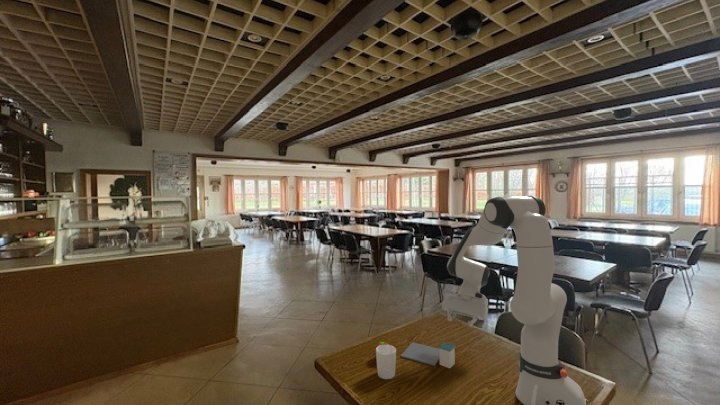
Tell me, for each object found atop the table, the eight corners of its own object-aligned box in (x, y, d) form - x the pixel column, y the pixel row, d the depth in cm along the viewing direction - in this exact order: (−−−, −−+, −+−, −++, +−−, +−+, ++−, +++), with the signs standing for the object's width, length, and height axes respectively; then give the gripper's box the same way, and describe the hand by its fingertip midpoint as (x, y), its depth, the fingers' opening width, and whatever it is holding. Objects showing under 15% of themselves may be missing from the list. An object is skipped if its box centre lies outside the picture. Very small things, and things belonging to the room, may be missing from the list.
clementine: (371, 357, 136) (371, 341, 136) (383, 352, 140) (383, 336, 140) (383, 365, 130) (383, 348, 130) (395, 360, 134) (395, 343, 134)
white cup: (372, 371, 125) (372, 347, 125) (389, 367, 129) (389, 343, 128) (382, 382, 118) (382, 356, 118) (400, 377, 121) (400, 351, 121)
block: (454, 363, 131) (454, 344, 130) (449, 368, 127) (449, 349, 127) (444, 360, 134) (444, 341, 133) (439, 364, 130) (439, 345, 130)
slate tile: (443, 351, 141) (443, 349, 141) (434, 366, 129) (434, 364, 129) (412, 343, 148) (412, 342, 148) (400, 356, 136) (400, 355, 136)
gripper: (445, 287, 151) (435, 313, 144) (488, 296, 137) (479, 326, 130) (449, 294, 154) (439, 320, 147) (492, 304, 140) (483, 333, 133)
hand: (459, 323), depth 138 cm, fingers open, 8 cm apart
